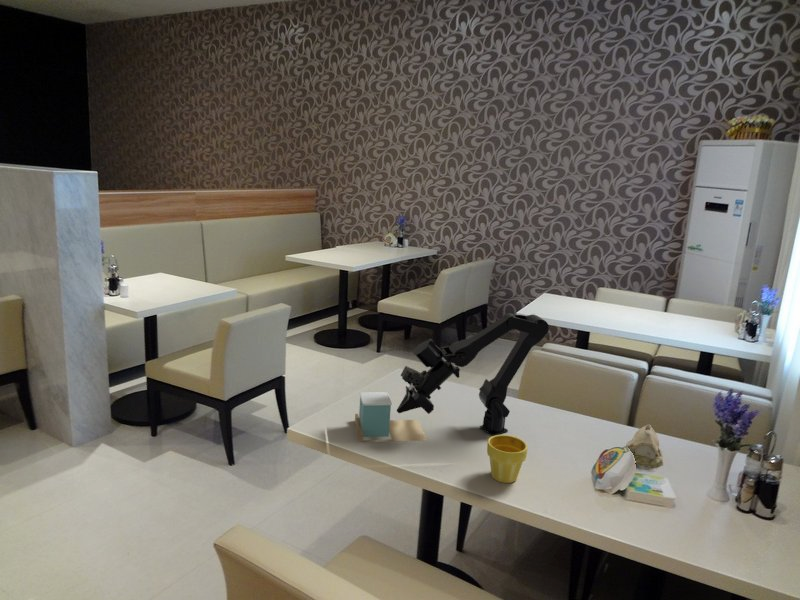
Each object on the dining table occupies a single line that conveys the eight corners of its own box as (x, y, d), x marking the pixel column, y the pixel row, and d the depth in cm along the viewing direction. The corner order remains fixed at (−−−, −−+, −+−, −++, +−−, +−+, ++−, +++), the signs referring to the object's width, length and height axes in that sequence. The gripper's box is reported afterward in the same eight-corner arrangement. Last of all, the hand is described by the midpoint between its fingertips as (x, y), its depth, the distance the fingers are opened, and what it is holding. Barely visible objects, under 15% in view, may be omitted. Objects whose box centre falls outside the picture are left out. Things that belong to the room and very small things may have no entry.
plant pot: (479, 480, 150) (483, 446, 148) (489, 463, 160) (492, 431, 158) (519, 491, 147) (523, 456, 144) (526, 472, 156) (530, 439, 154)
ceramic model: (662, 472, 162) (668, 439, 160) (620, 461, 167) (625, 429, 164) (664, 452, 174) (670, 421, 172) (625, 442, 179) (630, 412, 177)
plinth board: (417, 421, 183) (418, 412, 182) (427, 442, 170) (428, 432, 169) (354, 422, 179) (355, 413, 179) (360, 443, 166) (360, 434, 165)
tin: (384, 424, 178) (387, 392, 176) (389, 436, 170) (391, 403, 168) (357, 424, 176) (359, 392, 174) (361, 437, 168) (363, 403, 166)
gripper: (411, 349, 180) (375, 383, 180) (425, 369, 162) (384, 407, 162) (434, 372, 183) (398, 405, 183) (450, 395, 165) (410, 432, 165)
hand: (397, 411), depth 173 cm, fingers closed
